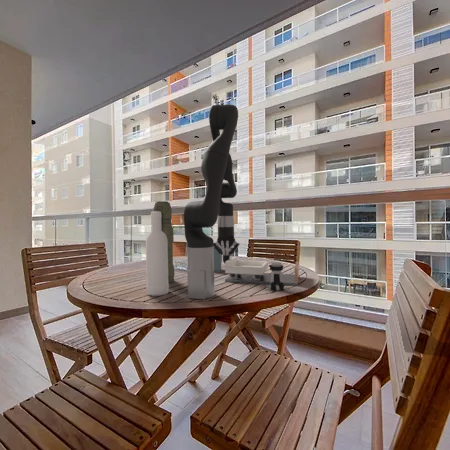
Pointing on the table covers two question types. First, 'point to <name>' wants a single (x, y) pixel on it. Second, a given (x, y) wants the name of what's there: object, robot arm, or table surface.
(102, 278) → the table surface
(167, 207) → the thermos
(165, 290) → the bottle
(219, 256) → the drinking glass
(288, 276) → the grey piece
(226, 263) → the cart
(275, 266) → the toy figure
